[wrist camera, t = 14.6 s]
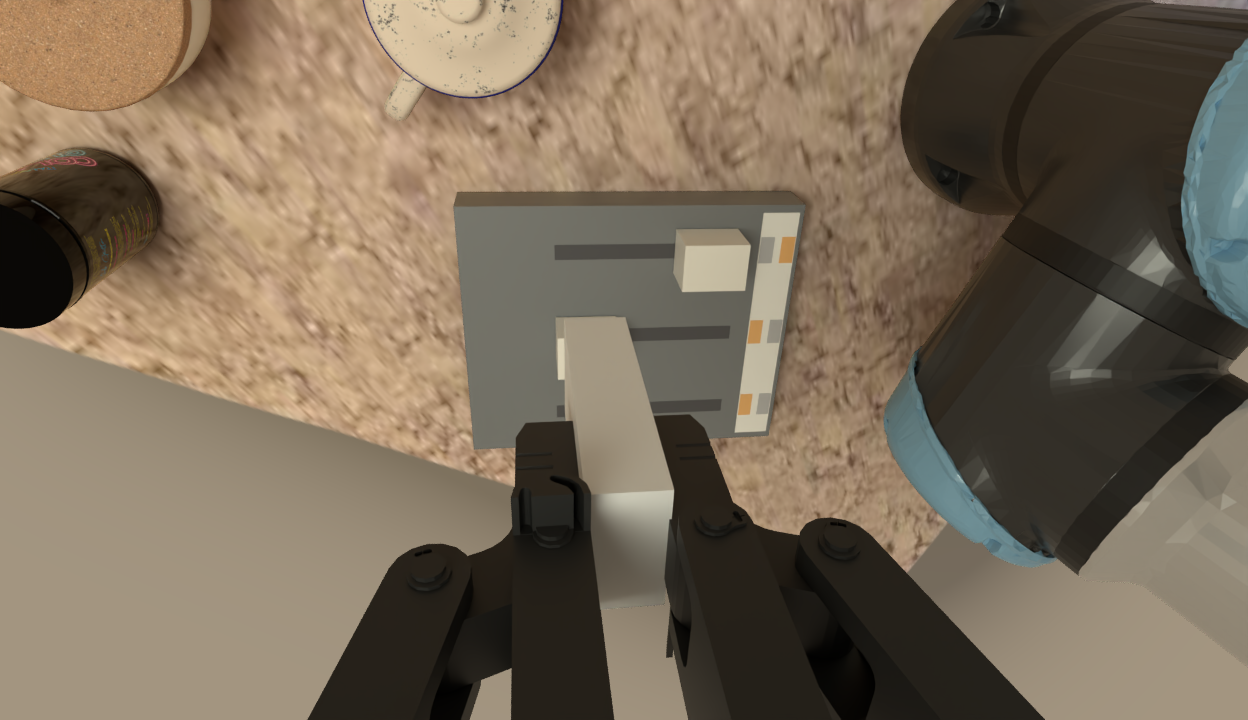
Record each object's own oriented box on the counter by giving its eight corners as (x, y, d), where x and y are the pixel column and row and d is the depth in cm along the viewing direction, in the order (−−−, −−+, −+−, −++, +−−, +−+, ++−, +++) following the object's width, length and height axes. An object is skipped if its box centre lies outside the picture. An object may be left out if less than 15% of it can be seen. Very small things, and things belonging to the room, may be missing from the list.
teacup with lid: (444, -154, 37) (416, -192, 27) (587, -31, 41) (609, -25, 30) (334, 48, 41) (273, 81, 31) (473, 144, 44) (459, 201, 34)
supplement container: (143, 141, 42) (41, 194, 33) (179, 250, 45) (95, 325, 36) (19, 145, 41) (-121, 200, 32) (64, 256, 45) (-51, 333, 36)
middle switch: (615, 315, 48) (621, 336, 45) (614, 355, 49) (619, 377, 47) (555, 317, 47) (557, 338, 45) (556, 357, 49) (558, 379, 46)
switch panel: (790, 191, 48) (806, 205, 46) (757, 413, 57) (768, 436, 55) (457, 192, 46) (453, 207, 43) (476, 425, 55) (474, 450, 52)
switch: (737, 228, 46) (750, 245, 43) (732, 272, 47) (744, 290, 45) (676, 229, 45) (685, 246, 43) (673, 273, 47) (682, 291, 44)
